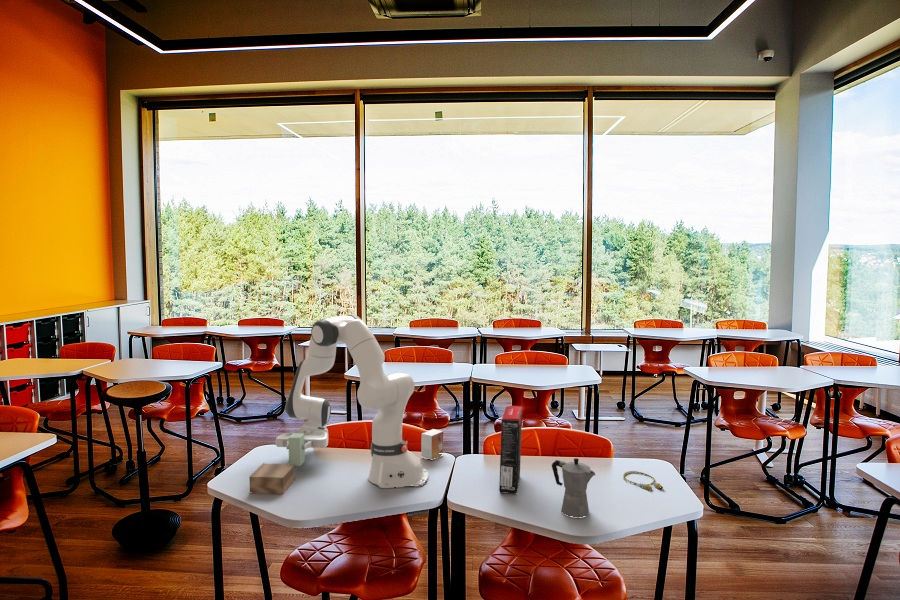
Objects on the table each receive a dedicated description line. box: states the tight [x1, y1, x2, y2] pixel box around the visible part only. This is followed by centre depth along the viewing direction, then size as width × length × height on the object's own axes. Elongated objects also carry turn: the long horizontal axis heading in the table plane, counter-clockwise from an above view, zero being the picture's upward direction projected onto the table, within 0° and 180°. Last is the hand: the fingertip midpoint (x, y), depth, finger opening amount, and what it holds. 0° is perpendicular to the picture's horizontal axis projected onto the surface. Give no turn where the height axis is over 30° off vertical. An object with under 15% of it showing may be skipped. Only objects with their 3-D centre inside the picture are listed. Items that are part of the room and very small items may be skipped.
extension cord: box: [623, 470, 664, 491], centre depth 200 cm, size 12×16×2 cm
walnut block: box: [248, 462, 296, 495], centre depth 194 cm, size 12×12×6 cm
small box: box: [420, 428, 444, 460], centre depth 223 cm, size 8×6×10 cm
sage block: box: [288, 432, 306, 467], centre depth 208 cm, size 4×5×11 cm
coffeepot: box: [551, 458, 596, 517], centre depth 176 cm, size 15×9×18 cm, turn 50°
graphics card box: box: [498, 405, 523, 494], centre depth 196 cm, size 17×7×27 cm, turn 169°
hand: (295, 447), depth 207 cm, fingers closed on sage block, 4 cm apart
